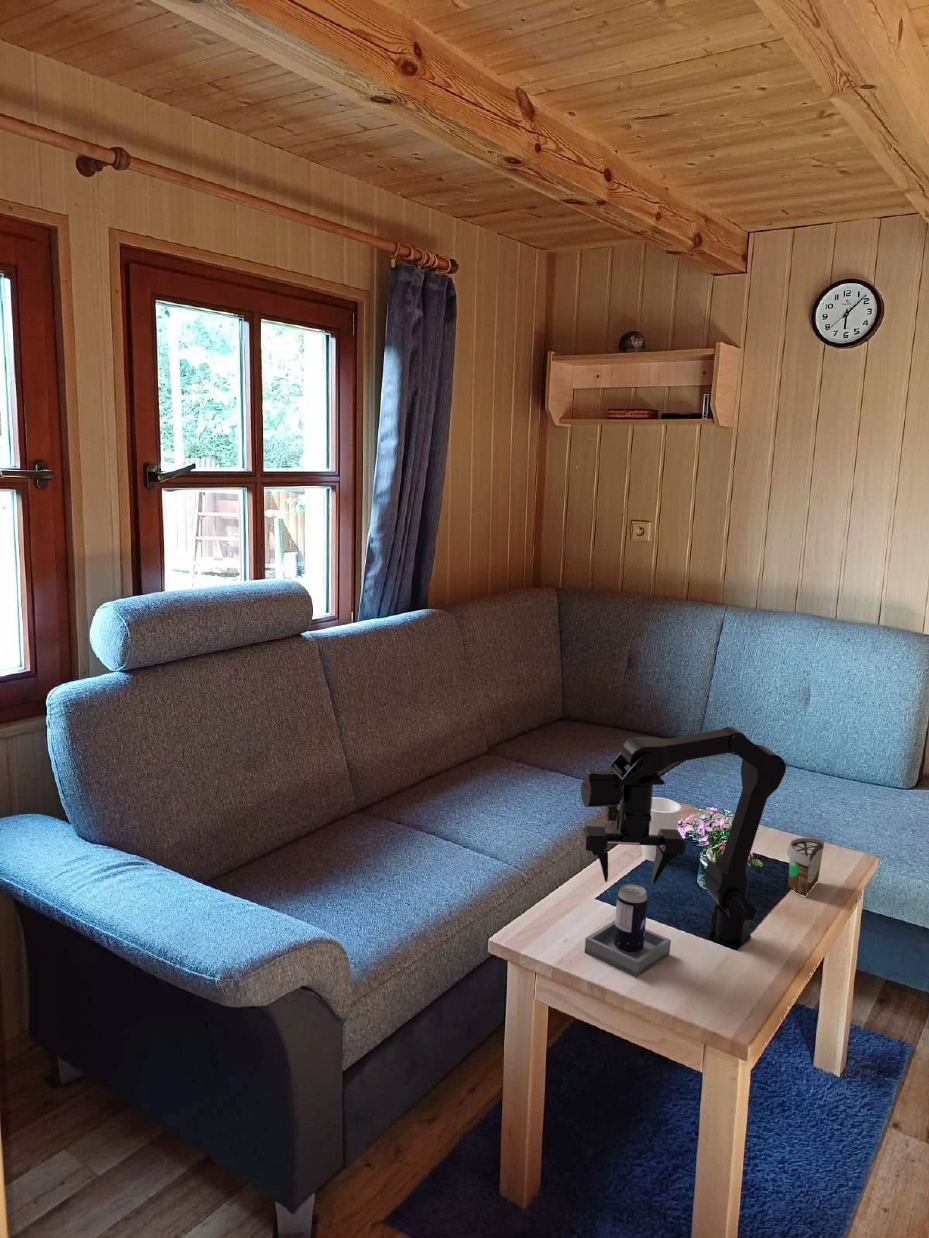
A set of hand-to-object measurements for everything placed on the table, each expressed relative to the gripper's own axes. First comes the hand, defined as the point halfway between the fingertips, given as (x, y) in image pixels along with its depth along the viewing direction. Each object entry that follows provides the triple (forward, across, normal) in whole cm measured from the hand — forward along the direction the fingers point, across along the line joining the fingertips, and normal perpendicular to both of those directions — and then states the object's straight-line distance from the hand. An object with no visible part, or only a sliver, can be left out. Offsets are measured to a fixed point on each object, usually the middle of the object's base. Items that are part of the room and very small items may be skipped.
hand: (629, 881), depth 178 cm
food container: (+13, -44, -28) cm, 54 cm away
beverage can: (+12, 0, +4) cm, 13 cm away
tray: (+13, 0, +4) cm, 13 cm away
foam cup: (+13, -15, -40) cm, 45 cm away
